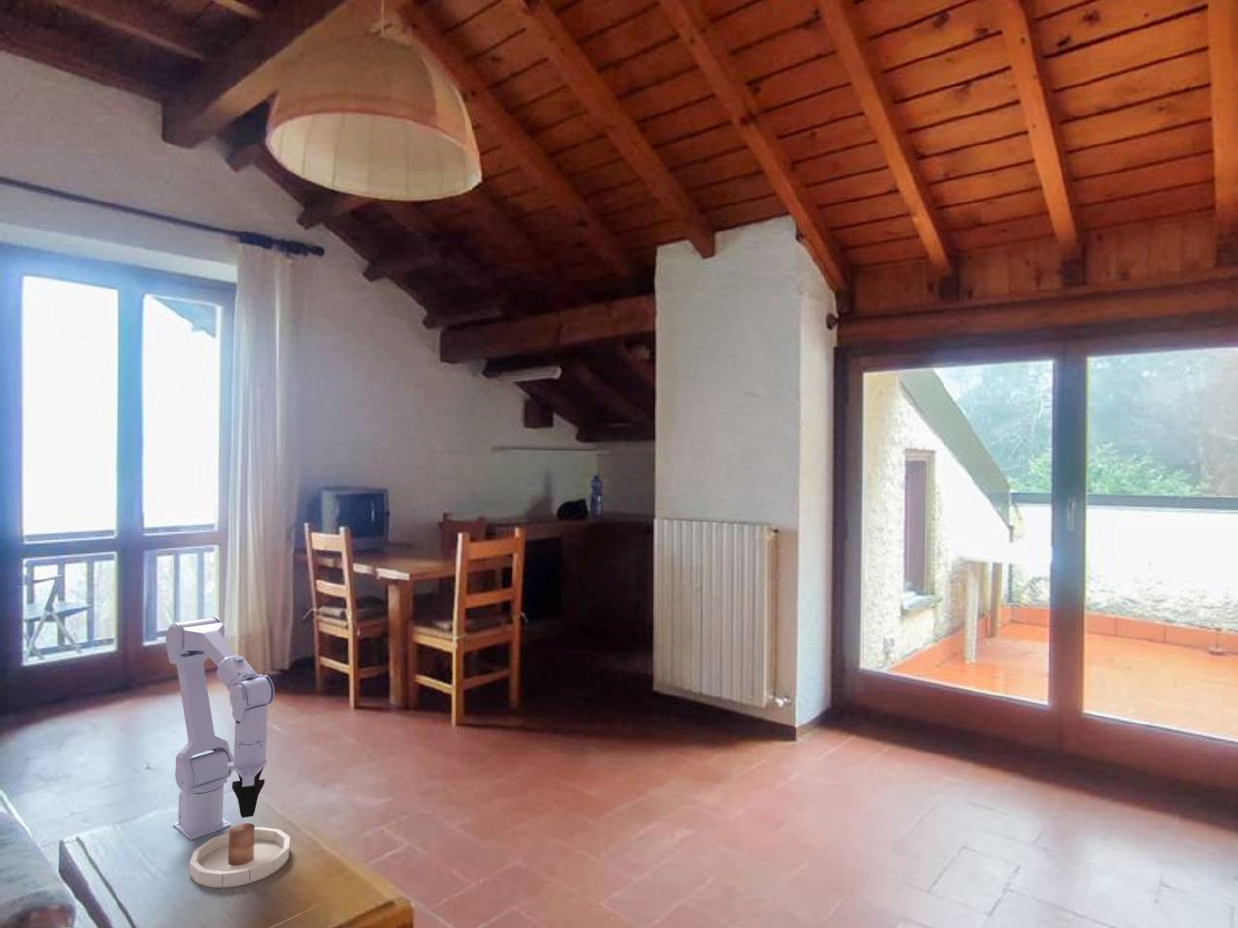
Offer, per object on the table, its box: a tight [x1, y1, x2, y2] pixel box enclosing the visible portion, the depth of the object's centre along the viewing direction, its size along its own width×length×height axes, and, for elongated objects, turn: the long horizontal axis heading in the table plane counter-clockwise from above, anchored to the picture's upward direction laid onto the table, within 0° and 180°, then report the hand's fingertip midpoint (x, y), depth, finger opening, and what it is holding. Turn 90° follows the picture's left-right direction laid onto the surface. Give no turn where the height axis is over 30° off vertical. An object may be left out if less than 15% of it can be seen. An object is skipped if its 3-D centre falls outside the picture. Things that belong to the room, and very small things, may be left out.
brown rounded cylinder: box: [228, 822, 256, 866], centre depth 141 cm, size 4×4×6 cm
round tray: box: [188, 826, 291, 889], centre depth 141 cm, size 17×17×3 cm
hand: (248, 807), depth 145 cm, fingers open, 7 cm apart
